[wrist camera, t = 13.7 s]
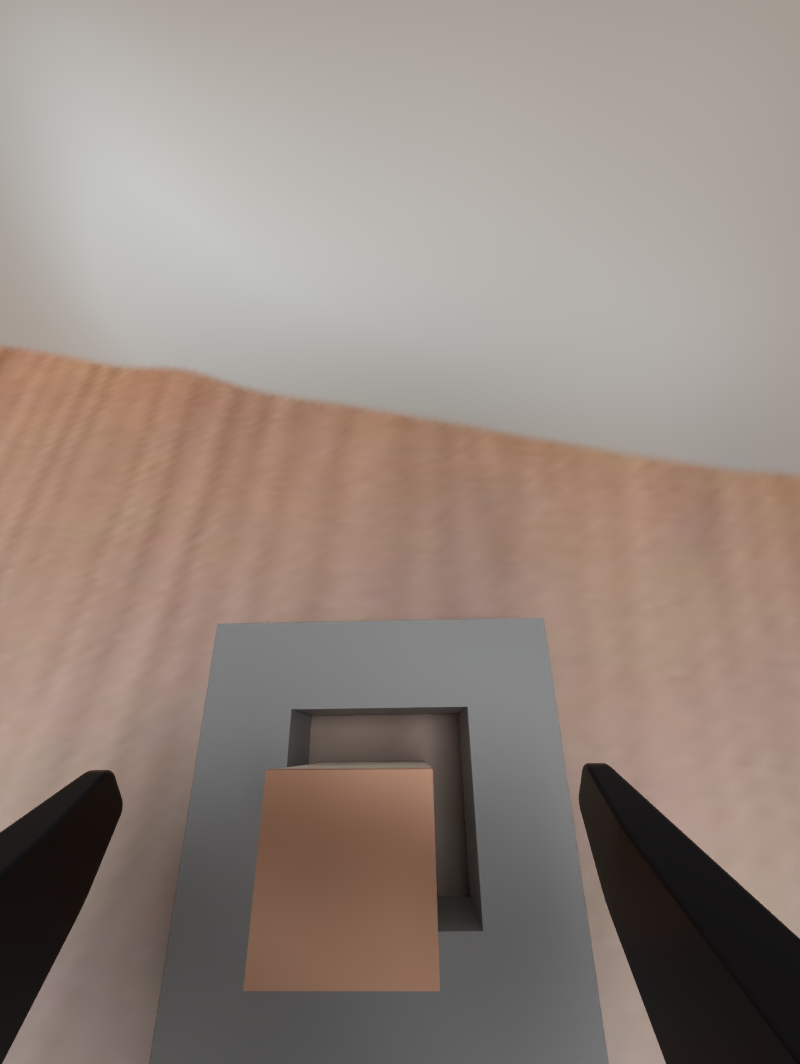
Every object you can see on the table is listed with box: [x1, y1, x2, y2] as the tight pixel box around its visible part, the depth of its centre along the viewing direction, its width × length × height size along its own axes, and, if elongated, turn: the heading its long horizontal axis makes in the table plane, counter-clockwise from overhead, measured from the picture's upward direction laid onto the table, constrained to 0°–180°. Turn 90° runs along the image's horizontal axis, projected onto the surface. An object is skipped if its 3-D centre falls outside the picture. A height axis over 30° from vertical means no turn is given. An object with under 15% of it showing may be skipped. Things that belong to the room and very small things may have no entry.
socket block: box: [149, 618, 609, 1064], centre depth 19 cm, size 14×14×4 cm
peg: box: [243, 761, 440, 991], centre depth 16 cm, size 4×4×10 cm
